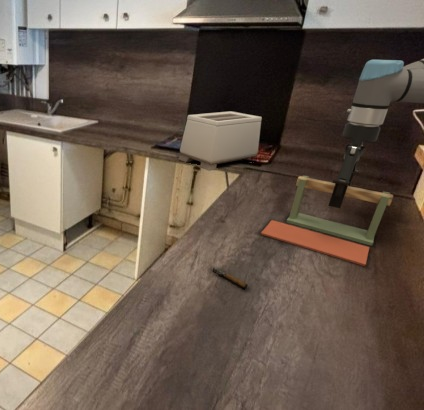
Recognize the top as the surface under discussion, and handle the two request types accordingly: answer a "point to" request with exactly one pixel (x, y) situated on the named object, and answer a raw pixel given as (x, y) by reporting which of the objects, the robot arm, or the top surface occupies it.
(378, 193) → the hanger bar
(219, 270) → the can opener
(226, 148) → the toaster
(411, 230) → the top surface
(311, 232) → the mat
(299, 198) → the rack
